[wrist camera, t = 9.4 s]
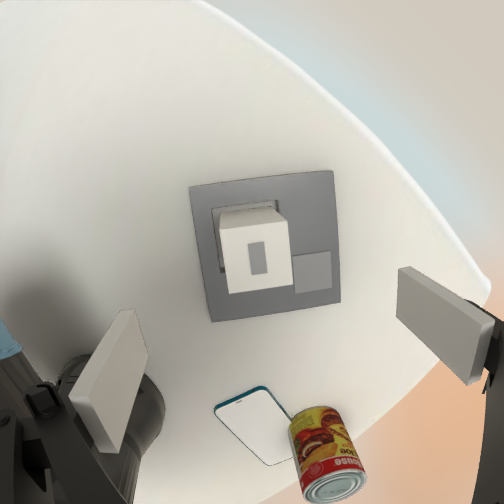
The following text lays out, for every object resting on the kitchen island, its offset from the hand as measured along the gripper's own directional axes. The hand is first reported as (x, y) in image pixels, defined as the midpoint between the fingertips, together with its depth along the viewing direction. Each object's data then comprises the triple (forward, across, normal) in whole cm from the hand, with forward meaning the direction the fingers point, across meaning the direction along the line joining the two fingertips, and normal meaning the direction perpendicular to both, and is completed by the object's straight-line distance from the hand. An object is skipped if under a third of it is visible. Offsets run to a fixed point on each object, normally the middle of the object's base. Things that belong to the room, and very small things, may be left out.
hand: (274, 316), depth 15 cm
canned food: (+19, +6, -28) cm, 35 cm away
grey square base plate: (+19, +2, -1) cm, 19 cm away
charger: (+19, 0, 0) cm, 19 cm away
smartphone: (+19, -1, -28) cm, 34 cm away
